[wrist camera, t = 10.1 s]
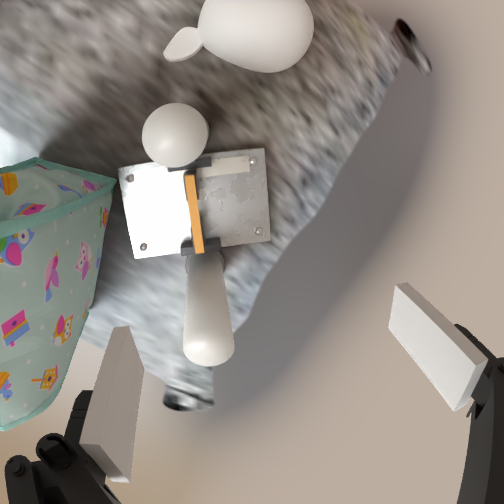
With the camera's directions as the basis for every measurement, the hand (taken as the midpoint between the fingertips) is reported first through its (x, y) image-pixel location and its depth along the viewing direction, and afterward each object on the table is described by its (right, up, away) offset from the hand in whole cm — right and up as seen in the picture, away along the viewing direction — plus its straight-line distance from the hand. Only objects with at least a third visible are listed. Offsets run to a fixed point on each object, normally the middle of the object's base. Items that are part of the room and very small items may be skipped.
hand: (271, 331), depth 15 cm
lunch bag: (-28, +6, +25) cm, 38 cm away
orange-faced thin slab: (-8, +9, +24) cm, 27 cm away
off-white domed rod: (-9, +18, +22) cm, 30 cm away
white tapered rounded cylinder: (-7, +2, +29) cm, 30 cm away
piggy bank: (-3, +31, +18) cm, 36 cm away
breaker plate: (-8, +10, +26) cm, 29 cm away
